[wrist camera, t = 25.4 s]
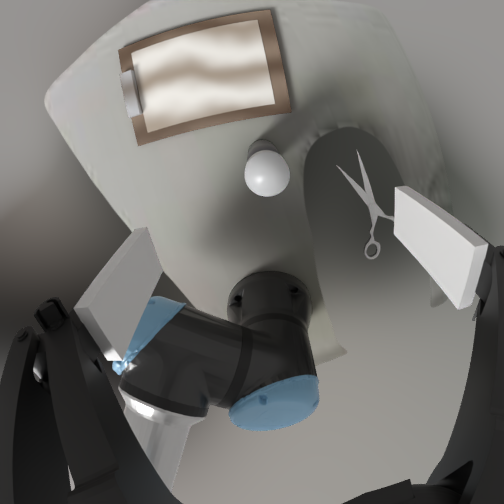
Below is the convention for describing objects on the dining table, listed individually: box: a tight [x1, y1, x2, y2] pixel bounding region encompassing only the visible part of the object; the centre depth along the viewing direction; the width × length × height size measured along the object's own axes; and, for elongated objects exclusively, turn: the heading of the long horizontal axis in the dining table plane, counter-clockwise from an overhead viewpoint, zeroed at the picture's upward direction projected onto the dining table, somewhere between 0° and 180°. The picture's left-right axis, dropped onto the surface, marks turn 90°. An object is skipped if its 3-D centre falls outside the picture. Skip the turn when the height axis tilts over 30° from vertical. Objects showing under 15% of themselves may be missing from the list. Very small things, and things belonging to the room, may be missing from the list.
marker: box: [245, 140, 290, 197], centre depth 31 cm, size 4×4×14 cm
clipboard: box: [118, 10, 291, 146], centre depth 30 cm, size 16×22×2 cm
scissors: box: [338, 152, 394, 259], centre depth 41 cm, size 11×1×20 cm
